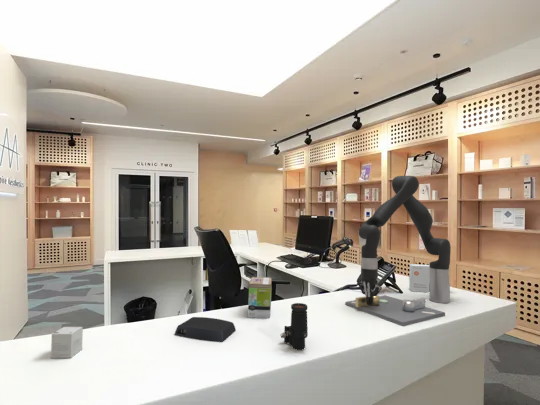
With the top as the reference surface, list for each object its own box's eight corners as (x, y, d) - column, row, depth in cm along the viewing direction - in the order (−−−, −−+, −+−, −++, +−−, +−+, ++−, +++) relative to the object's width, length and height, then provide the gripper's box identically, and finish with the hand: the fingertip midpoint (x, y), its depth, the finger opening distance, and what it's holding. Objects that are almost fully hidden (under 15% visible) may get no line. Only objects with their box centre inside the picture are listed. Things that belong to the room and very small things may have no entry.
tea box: (270, 318, 129) (271, 283, 130) (247, 318, 129) (248, 283, 130) (271, 308, 144) (271, 276, 145) (250, 307, 144) (250, 276, 145)
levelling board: (385, 298, 165) (385, 293, 165) (445, 315, 136) (445, 310, 136) (345, 304, 151) (345, 300, 151) (403, 326, 122) (402, 320, 122)
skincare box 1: (82, 349, 97) (83, 326, 97) (70, 358, 90) (71, 333, 91) (63, 349, 96) (64, 326, 97) (49, 358, 90) (51, 333, 91)
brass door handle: (373, 302, 150) (373, 294, 150) (381, 304, 146) (381, 296, 146) (352, 305, 144) (353, 296, 144) (360, 308, 139) (360, 299, 140)
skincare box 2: (411, 292, 180) (411, 265, 181) (408, 289, 185) (408, 263, 186) (449, 294, 177) (449, 266, 177) (446, 291, 182) (445, 265, 183)
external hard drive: (192, 324, 121) (192, 314, 121) (236, 331, 115) (237, 320, 116) (172, 337, 109) (173, 325, 109) (221, 344, 103) (221, 332, 103)
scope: (299, 299, 109) (316, 306, 100) (299, 338, 108) (316, 349, 99) (280, 302, 105) (295, 310, 96) (279, 342, 104) (295, 354, 95)
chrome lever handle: (410, 312, 135) (410, 303, 135) (400, 309, 139) (400, 300, 139) (428, 308, 141) (428, 299, 141) (418, 305, 145) (418, 297, 146)
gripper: (386, 268, 138) (386, 307, 137) (364, 264, 150) (364, 300, 149) (374, 270, 135) (375, 309, 134) (353, 265, 146) (353, 302, 145)
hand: (369, 304), depth 141 cm, fingers closed
